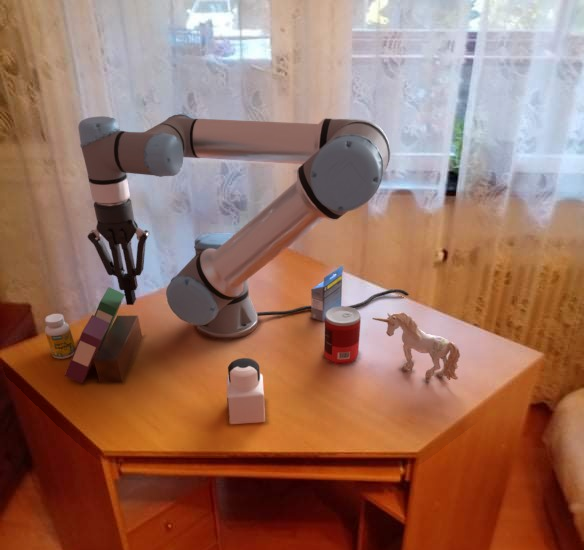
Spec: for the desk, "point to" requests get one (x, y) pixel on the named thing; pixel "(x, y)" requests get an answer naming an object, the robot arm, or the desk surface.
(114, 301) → the green tea box
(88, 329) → the plum tea box
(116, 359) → the walnut block
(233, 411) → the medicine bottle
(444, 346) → the unicorn figurine
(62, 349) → the supplement bottle
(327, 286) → the tape cartridge
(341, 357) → the canned food
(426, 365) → the desk surface
